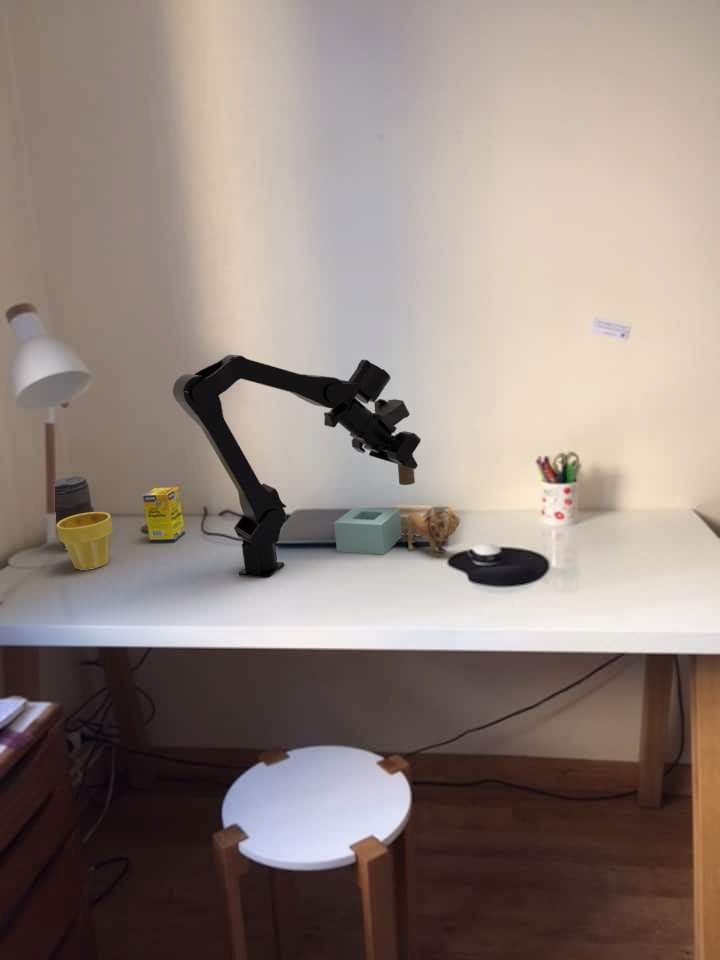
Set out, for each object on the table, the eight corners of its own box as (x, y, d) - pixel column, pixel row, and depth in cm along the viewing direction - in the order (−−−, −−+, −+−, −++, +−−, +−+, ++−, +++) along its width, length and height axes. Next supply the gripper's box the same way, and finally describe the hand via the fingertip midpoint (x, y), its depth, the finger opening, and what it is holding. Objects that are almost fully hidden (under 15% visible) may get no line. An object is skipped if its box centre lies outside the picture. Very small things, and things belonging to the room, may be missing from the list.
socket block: (383, 554, 142) (381, 524, 140) (336, 551, 146) (333, 522, 144) (402, 537, 150) (399, 508, 149) (357, 534, 154) (354, 507, 153)
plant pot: (106, 572, 146) (97, 525, 143) (56, 576, 147) (46, 529, 144) (126, 554, 156) (118, 509, 153) (78, 557, 157) (70, 513, 154)
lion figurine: (466, 552, 139) (463, 506, 137) (449, 561, 135) (446, 514, 133) (405, 539, 149) (402, 497, 147) (388, 548, 145) (384, 504, 143)
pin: (411, 485, 150) (408, 446, 148) (396, 484, 151) (393, 446, 149) (416, 480, 153) (414, 443, 151) (402, 480, 154) (399, 443, 152)
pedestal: (422, 536, 150) (421, 517, 149) (385, 534, 153) (384, 516, 152) (434, 523, 157) (433, 505, 156) (399, 522, 160) (398, 504, 159)
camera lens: (64, 543, 167) (51, 479, 164) (101, 537, 169) (89, 474, 165) (57, 554, 160) (43, 488, 156) (96, 549, 161) (83, 482, 157)
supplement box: (175, 542, 160) (167, 494, 158) (149, 543, 162) (141, 495, 159) (186, 533, 166) (178, 486, 163) (161, 534, 167) (153, 487, 164)
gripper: (408, 391, 137) (459, 439, 145) (359, 385, 153) (408, 428, 161) (375, 440, 136) (429, 486, 144) (329, 428, 152) (380, 470, 160)
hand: (411, 465), depth 152 cm, fingers closed on pin, 3 cm apart
